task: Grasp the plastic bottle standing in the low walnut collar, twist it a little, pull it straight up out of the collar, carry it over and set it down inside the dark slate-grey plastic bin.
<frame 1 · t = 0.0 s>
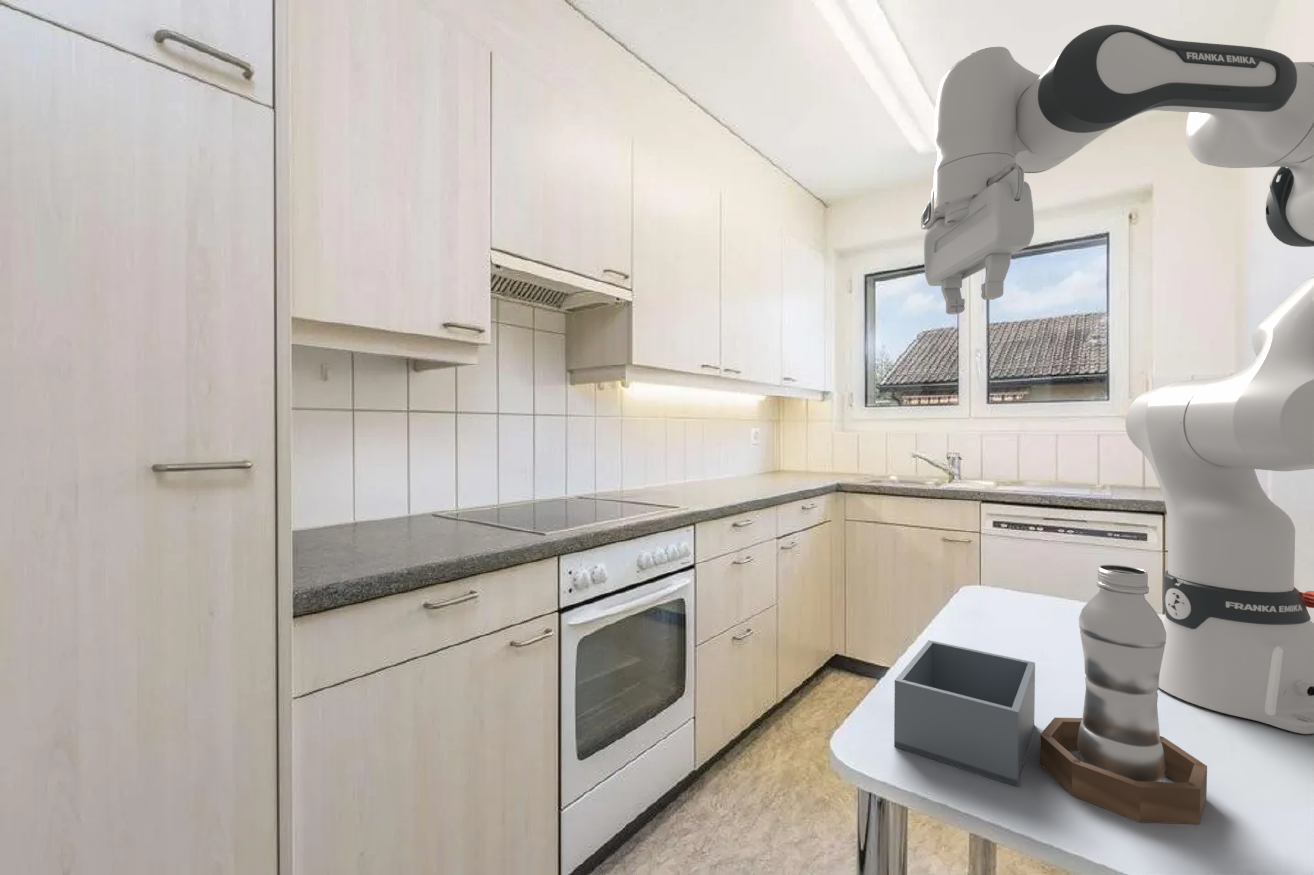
hand: (972, 306, 72), 48 cm above the table, fingers open, 8 cm apart
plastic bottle: (1119, 782, 55), resting in collar
collar: (1119, 780, 55), on the table
bin: (966, 735, 63), on the table
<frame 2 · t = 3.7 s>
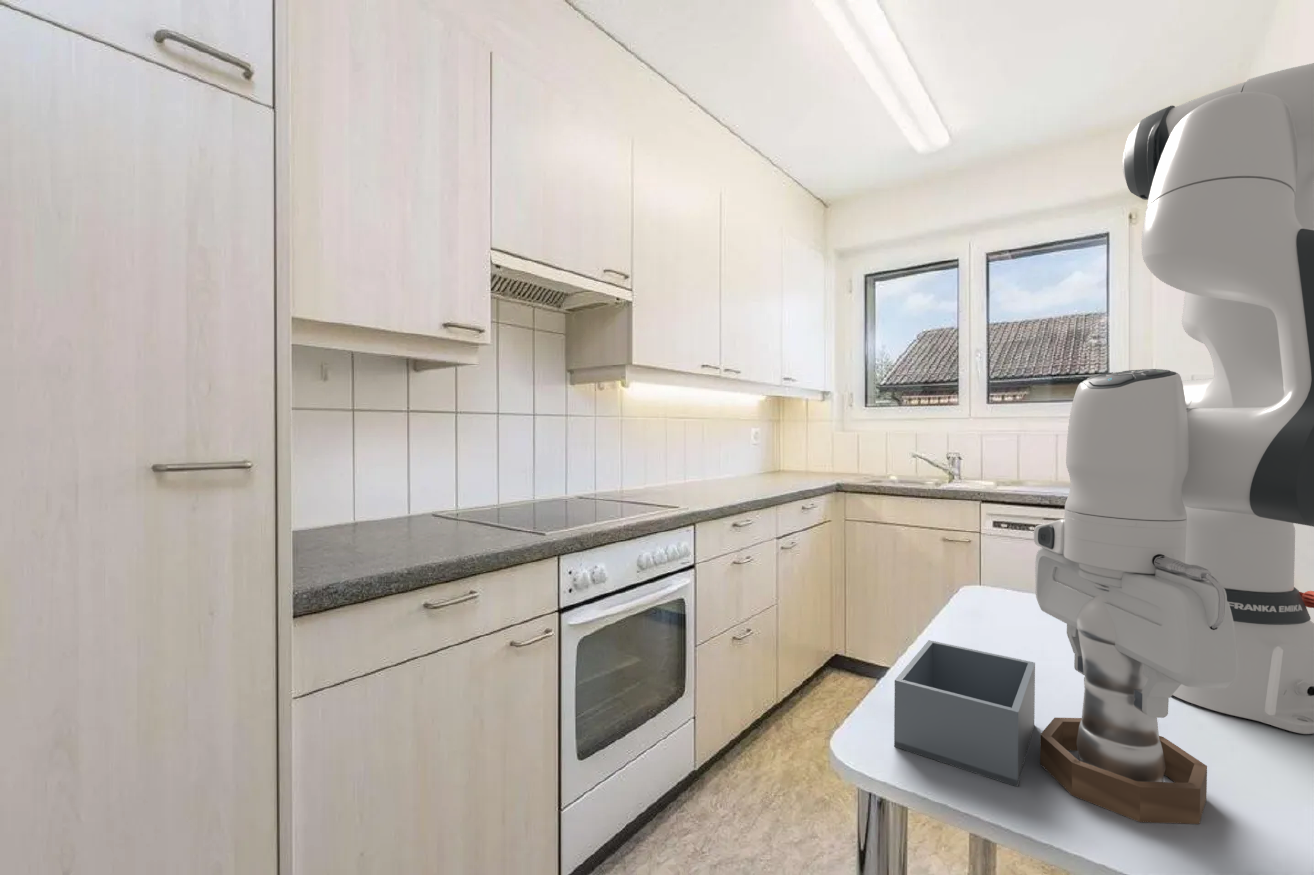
hand: (1117, 692, 55), 9 cm above the table, fingers open, 6 cm apart
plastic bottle: (1118, 783, 55), resting in collar, touching arm, gripper
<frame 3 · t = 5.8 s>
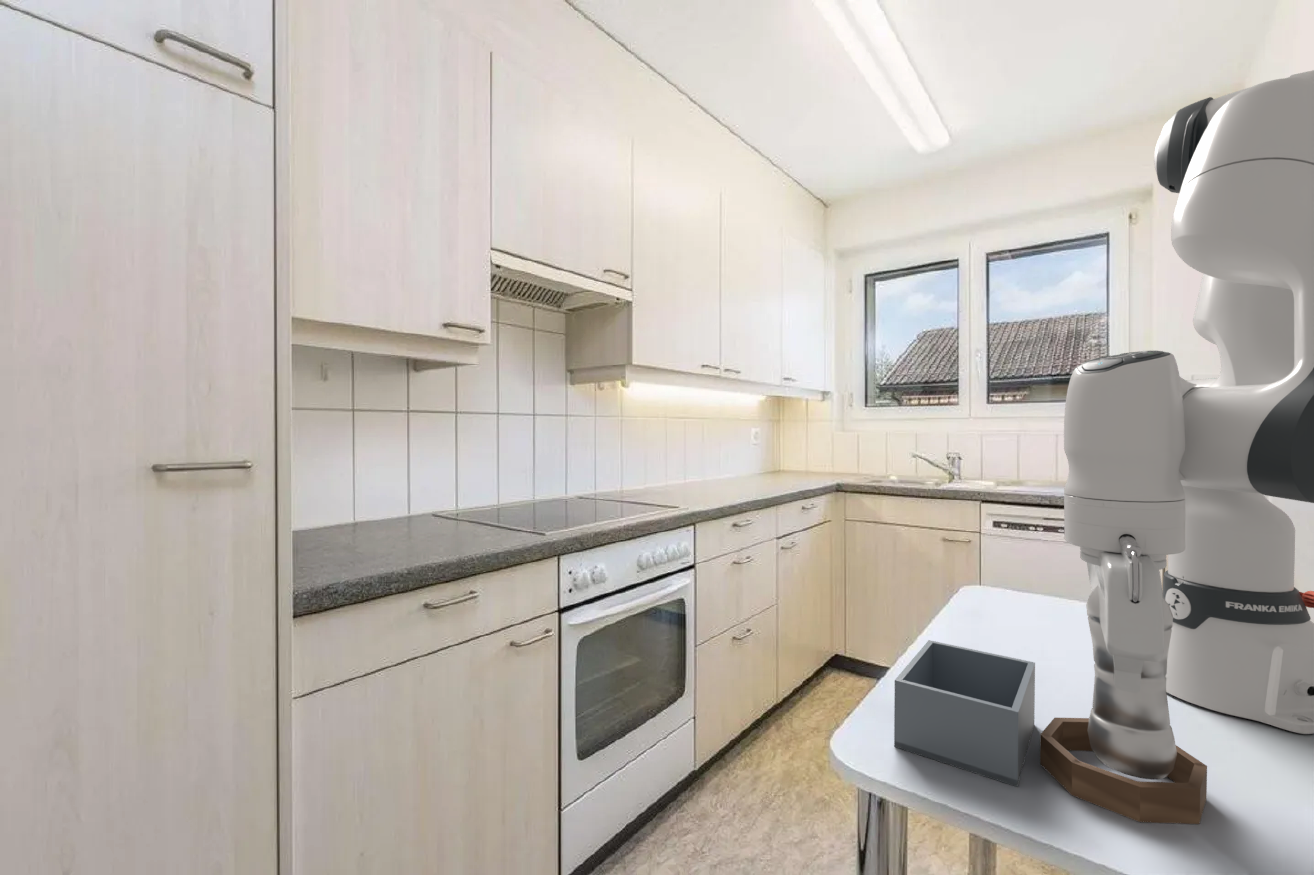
hand: (1122, 672, 55), 10 cm above the table, fingers closed on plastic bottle, 6 cm apart
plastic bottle: (1130, 770, 55), point 1 cm above the table, touching gripper
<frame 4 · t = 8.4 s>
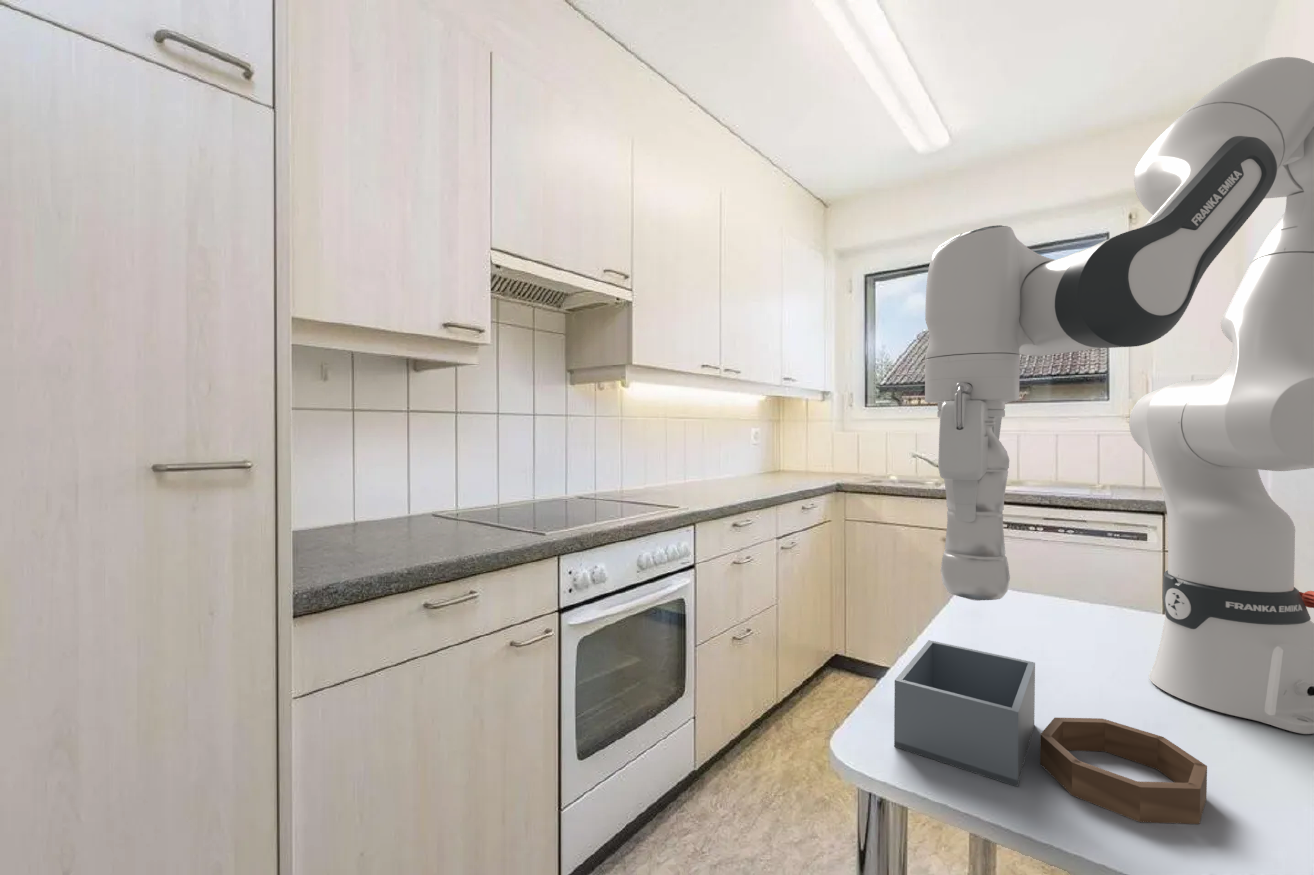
hand: (969, 515, 62), 24 cm above the table, fingers closed on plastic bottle, 6 cm apart
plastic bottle: (974, 600, 62), point 15 cm above the table, touching gripper
when the fingers open (11 cm above the table, at t = 11.1 s): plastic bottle drops 1 cm, resting on bin.
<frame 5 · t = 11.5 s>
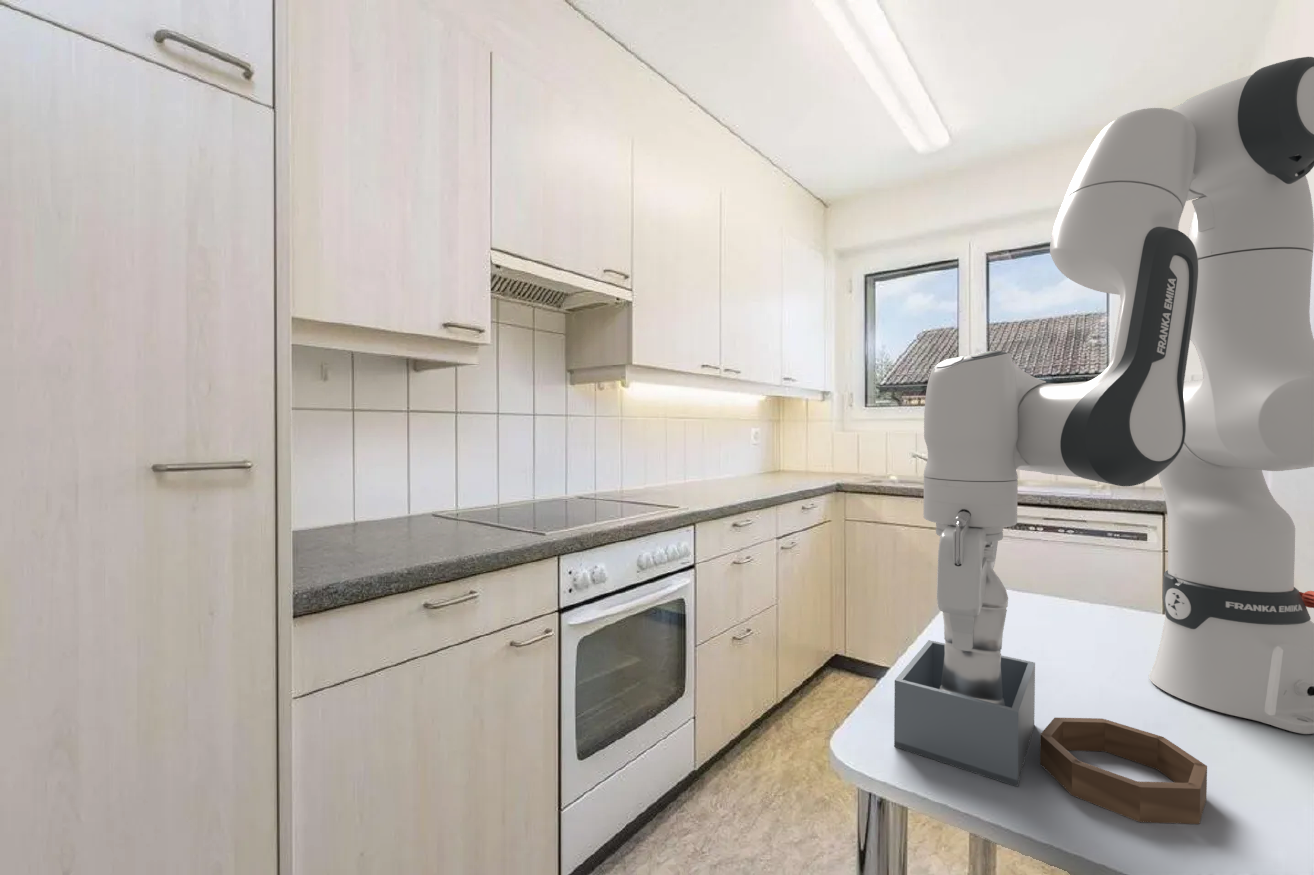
hand: (967, 633, 63), 11 cm above the table, fingers open, 8 cm apart
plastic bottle: (970, 741, 60), point 1 cm above the table, touching bin, gripper
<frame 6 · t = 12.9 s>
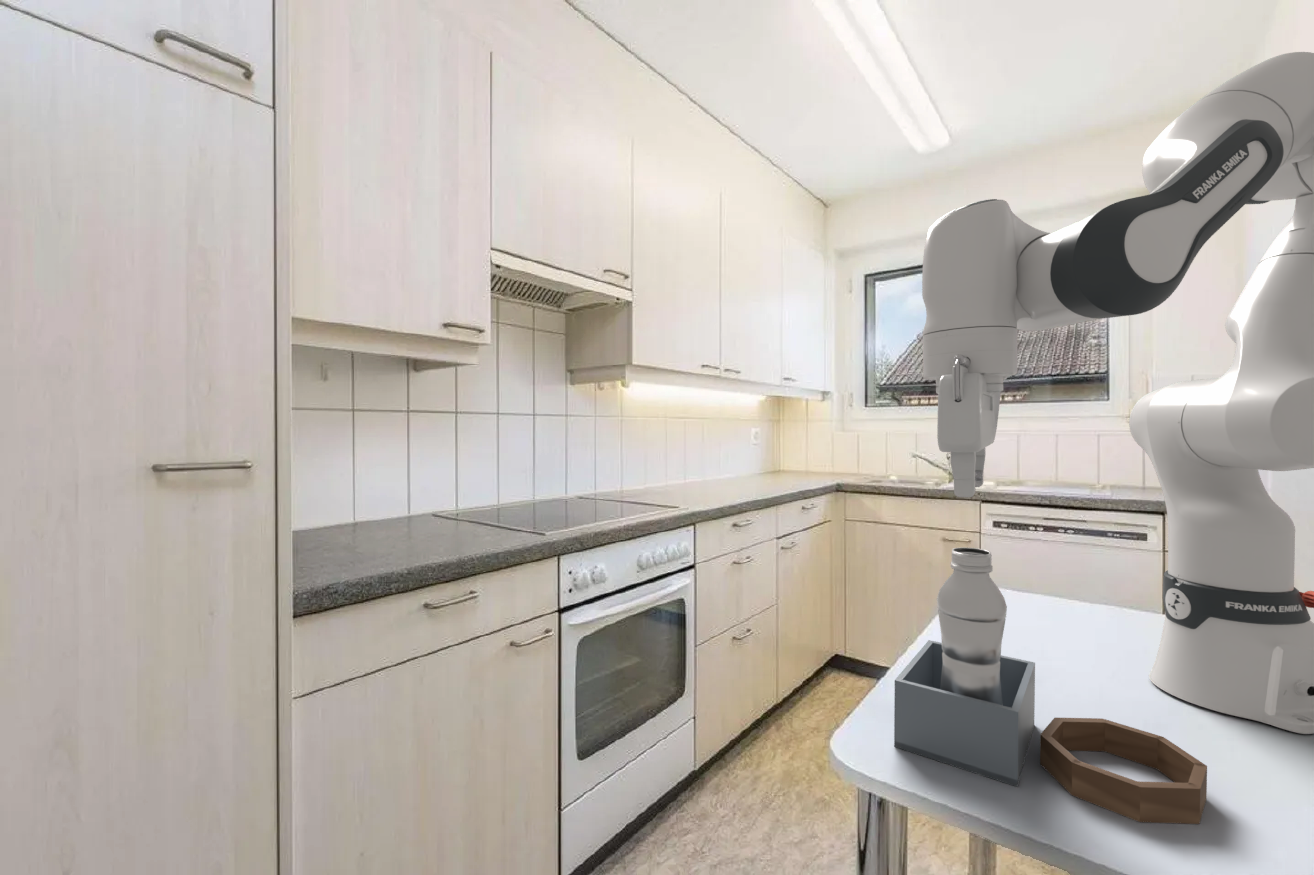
hand: (969, 491, 62), 26 cm above the table, fingers open, 8 cm apart
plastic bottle: (970, 746, 60), resting on bin
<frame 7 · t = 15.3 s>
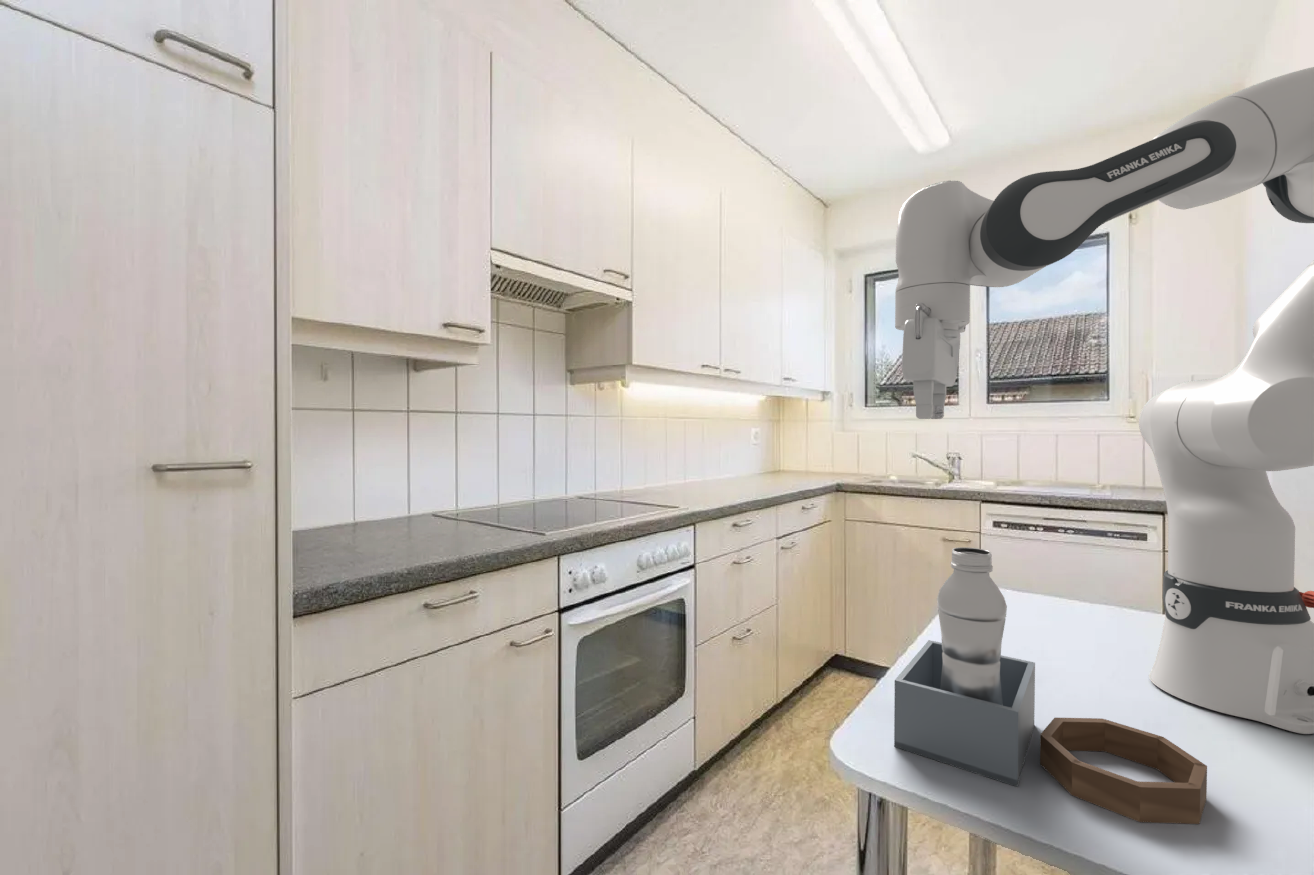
hand: (930, 419, 77), 34 cm above the table, fingers open, 8 cm apart
nothing on the table moved.
at the end: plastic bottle 3.2 cm from the bin (horizontally); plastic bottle resting on bin; the gripper is holding nothing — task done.
